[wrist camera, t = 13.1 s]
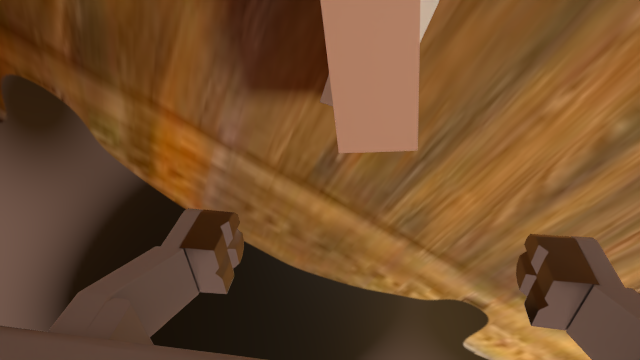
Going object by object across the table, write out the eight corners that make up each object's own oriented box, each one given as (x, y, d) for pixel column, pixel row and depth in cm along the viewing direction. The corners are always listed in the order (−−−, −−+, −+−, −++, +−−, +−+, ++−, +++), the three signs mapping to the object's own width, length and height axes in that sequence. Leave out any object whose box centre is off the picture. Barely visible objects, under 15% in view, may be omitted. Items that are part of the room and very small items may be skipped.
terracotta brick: (415, -41, 22) (420, -27, 19) (413, 114, 28) (417, 150, 24) (330, -31, 23) (318, -15, 19) (345, 117, 29) (338, 153, 25)
